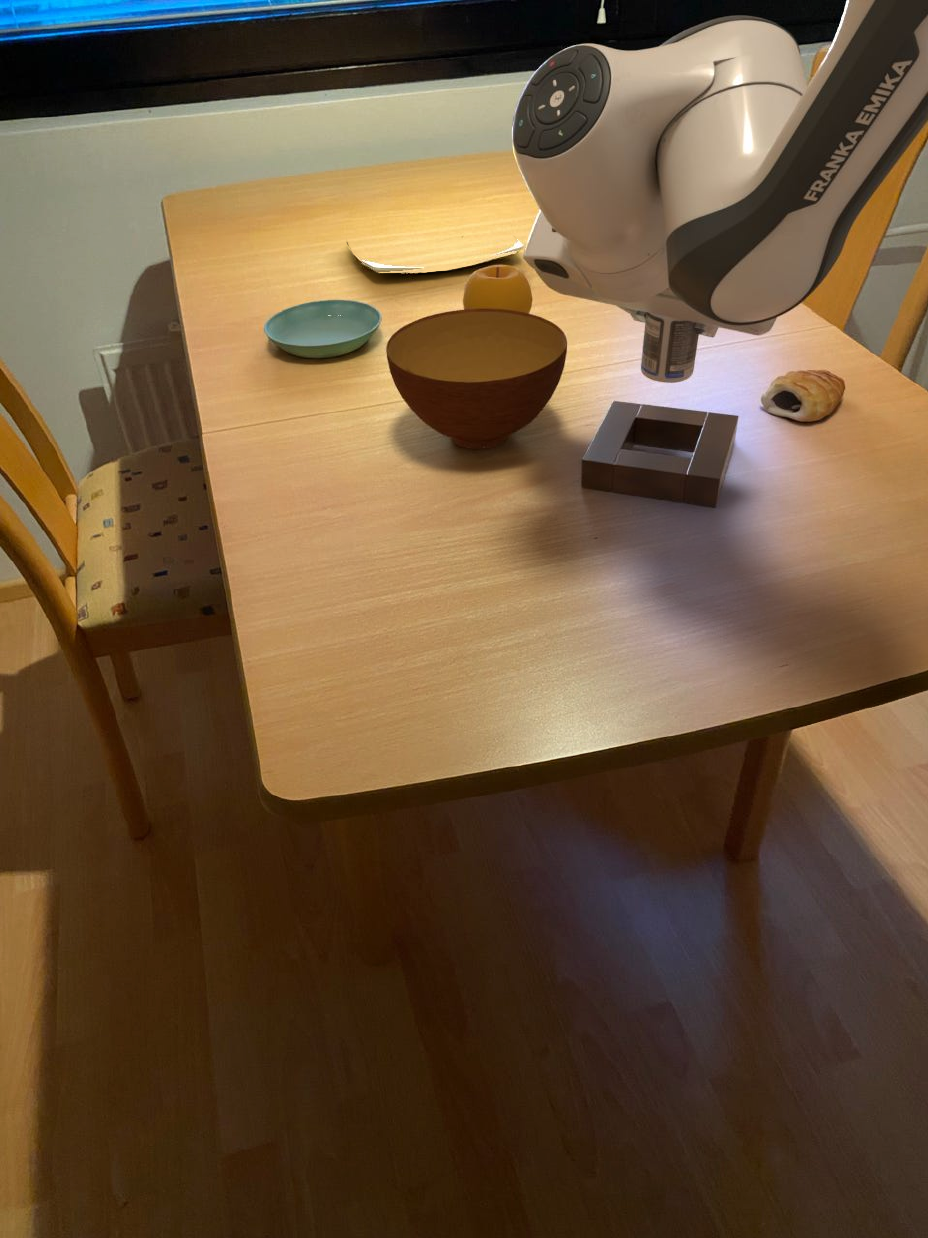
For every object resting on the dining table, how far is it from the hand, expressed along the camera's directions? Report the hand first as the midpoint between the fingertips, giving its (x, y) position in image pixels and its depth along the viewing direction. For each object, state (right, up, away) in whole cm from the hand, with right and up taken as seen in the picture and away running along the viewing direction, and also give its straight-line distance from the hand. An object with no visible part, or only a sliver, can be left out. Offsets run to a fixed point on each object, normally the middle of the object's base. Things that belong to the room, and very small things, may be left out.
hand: (677, 321), depth 82 cm
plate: (-24, +30, +61) cm, 72 cm away
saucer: (-36, +9, +36) cm, 52 cm away
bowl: (-17, -7, +15) cm, 24 cm away
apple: (-15, +8, +34) cm, 38 cm away
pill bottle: (-1, -4, +2) cm, 5 cm away
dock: (0, -11, +9) cm, 14 cm away
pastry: (+17, -4, +17) cm, 24 cm away
